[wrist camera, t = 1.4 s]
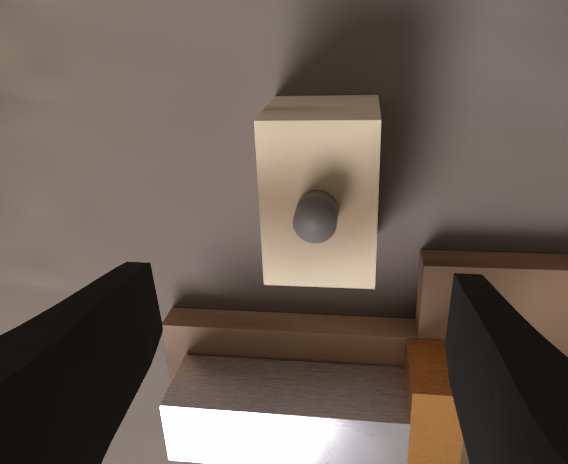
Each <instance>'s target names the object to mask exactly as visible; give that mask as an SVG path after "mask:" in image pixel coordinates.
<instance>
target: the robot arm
mask: <svg viewBox="0 0 568 464" xmlns="http://www.w3.org/2000/svg"><path fill="white" fill-rule="evenodd" d="M162 331H163V326H162V321H161V316H160V310H159V305H158V300H157V295H156V290H155V285H154V280H153V274H152V269H151V264H150V263H141V262H126V263H124V264H122V265H120V266H118V267H116V268H115V269H113V270H111V271H110V272H108V273H106V274H105V275H103V276H101V277H100V278H98V279H97V280H95V281H93V282H92V283H90V284H89V285H87V286H85V287H84V288H82V289H81V290H79V291H77V292H76V293H74V294H73V295H71V296H69V297H68V298H66V299H65V300H63V301H61V302H60V303H58V304H56V305H55V306H53V307H51V308H49V309H48V310H46V311H44V312H42V313H41V314H39V315H37V316H35V317H34V318H32V319H30V320H28V321H27V322H25V323H23V324H21V325H20V326H18V327H16V328H14V329H12V330H10V331H8V332H6V333H4V334H2V335H0V464H101V463H102V461H103V458H104V456H105V454H106V452H107V450H108V447H109V445H110V443H111V441H112V439H113V437H114V435H115V433H116V431H117V430H118V428H119V426H120V424H121V422H122V420H123V418H124V416H125V414H126V412H127V410H128V408H129V407H130V405H131V403H132V401H133V399H134V397H135V395H136V393H137V391H138V389H139V387H140V385H141V383H142V381H143V379H144V378H145V376H146V374H147V372H148V370H149V368H150V365H151V363H152V360H153V358H154V355H155V352H156V349H157V347H158V343H159V340H160V337H161V334H162ZM445 349H446V358H447V367H448V376H449V383H450V388H451V392H452V396H453V400H454V404H455V408H456V412H457V416H458V420H459V424H460V428H461V432H462V436H463V440H464V444H465V448H466V452H467V456H468V460H469V464H568V357H567V356H566V355H565V354H563V353H562V352H561V351H560V350H559V349H558V348H556V347H555V346H554V345H553V344H552V343H551V342H549V341H548V340H547V339H546V338H545V337H544V336H543V335H542V334H540V333H539V332H538V331H537V330H536V329H535V328H534V327H533V326H532V325H531V324H530V323H529V322H528V321H527V320H526V319H525V318H524V317H523V316H522V315H521V314H520V313H519V312H518V311H517V310H516V309H515V308H514V307H513V306H512V305H511V304H510V303H509V302H508V301H507V300H506V299H505V298H504V297H503V296H502V295H501V294H500V293H499V292H498V291H497V289H496V288H495V287H494V286H493V285H492V284H491V283H490V282H489V281H488V280H487V279H486V278H485V277H484V276H483V275H482V274H463V273H454V275H453V283H452V291H451V299H450V307H449V316H448V324H447V332H446V340H445Z"/></svg>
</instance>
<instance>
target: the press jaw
mask: <svg viewBox="0 0 568 464" xmlns="http://www.w3.org/2000/svg"><path fill="white" fill-rule="evenodd" d="M160 411H161V417H162V423H163V429H164V435H165V441H166V446H167V452H168V458H169V460H175V461H186V462H198V463H209V464H460V458H461V451H462V443H463V436H462V432H461V428H460V424H459V420H458V416H457V412H456V408H455V404H454V400H453V396H452V392H451V388H450V383H449V376H448V367H447V358H446V349H445V341H433V340H413V339H406V351H405V366H404V367H388V366H372V365H355V364H338V363H321V362H304V361H287V360H270V359H254V358H237V357H220V356H203V355H186V354H185V356H184V358H183V360H182V362H181V364H180V366H179V368H178V370H177V372H176V374H175V376H174V378H173V380H172V382H171V384H170V386H169V388H168V390H167V392H166V394H165V396H164V398H163V400H162V402H161V404H160Z"/></svg>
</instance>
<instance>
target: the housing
mask: <svg viewBox="0 0 568 464" xmlns="http://www.w3.org/2000/svg"><path fill="white" fill-rule="evenodd" d="M254 129H255V145H256V162H257V179H258V195H259V212H260V229H261V245H262V262H263V279H264V285H281V286H307V287H333V288H360V289H375V276H376V249H377V223H378V197H379V170H380V144H381V112H380V104H379V96H378V95H331V96H275V97H274V98H273V99H272V101H271V102H270V103H269V104H268V105H267V106H266V108H265V109H264V110H263V111H262V112H261V113H260V115H259V116H258V117H257V118H256V119H255V120H254Z"/></svg>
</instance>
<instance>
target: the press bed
mask: <svg viewBox="0 0 568 464" xmlns="http://www.w3.org/2000/svg"><path fill="white" fill-rule="evenodd" d="M454 273H463V274H482V275H483V276H484V277H485V278H486V279H487V280H488V281H489V282H490V283H491V284H492V285H493V286H494V287H495V288H496V289H497V291H498V292H499V293H500V294H501V295H502V296H503V297H504V298H505V299H506V300H507V301H508V302H509V303H510V304H511V305H512V306H513V307H514V308H515V309H516V310H517V311H518V312H519V313H520V314H521V315H522V316H523V317H524V318H525V319H526V320H527V321H528V322H529V323H530V324H531V325H532V326H533V327H534V328H535V329H536V330H537V331H538V332H539V333H540V334H542V335H543V336H544V337H545V338H546V339H547V340H548V341H549V342H551V343H552V344H553V345H554V346H555V347H556V348H558V349H559V350H560V351H561V352H562V353H563V354H565V355H566V356H567V357H568V254H561V253H526V252H490V251H455V250H420V263H419V276H418V289H417V302H416V315H415V319H408V318H386V317H365V316H343V315H322V314H300V313H279V312H257V311H236V310H214V309H192V308H171V310H170V312H169V313H168V315H167V317H166V318H165V320H164V321H163V323H162V326H163V331H162V333H163V340H164V346H165V353H166V359H167V365H168V372H169V378H170V384H171V382H172V380H173V378H174V376H175V374H176V372H177V370H178V368H179V366H180V364H181V362H182V360H183V358H184V356H185V354H186V355H203V356H220V357H237V358H254V359H270V360H287V361H304V362H321V363H338V364H355V365H372V366H388V367H404V366H405V351H406V339H413V340H433V341H445V340H446V332H447V324H448V316H449V307H450V299H451V291H452V283H453V275H454ZM460 464H469V460H468V456H467V452H466V448H465V444H464V440H463V443H462V451H461V458H460Z"/></svg>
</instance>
